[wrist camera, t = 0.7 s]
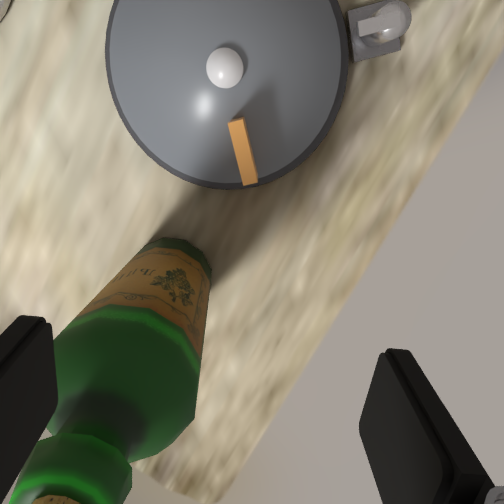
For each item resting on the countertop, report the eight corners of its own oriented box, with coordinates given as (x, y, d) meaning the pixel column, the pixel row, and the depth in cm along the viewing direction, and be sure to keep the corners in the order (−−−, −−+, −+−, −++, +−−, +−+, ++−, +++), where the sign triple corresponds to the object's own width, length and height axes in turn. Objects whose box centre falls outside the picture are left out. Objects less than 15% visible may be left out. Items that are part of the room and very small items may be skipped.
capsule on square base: (392, -1, 33) (422, -21, 27) (397, 50, 35) (426, 41, 29) (337, 15, 34) (354, -3, 28) (344, 64, 35) (362, 58, 29)
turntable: (80, -27, 31) (46, -51, 26) (315, -99, 29) (328, -140, 24) (157, 200, 38) (142, 216, 33) (352, 153, 36) (368, 162, 31)
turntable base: (73, -31, 33) (65, -37, 31) (323, -108, 31) (326, -118, 29) (155, 207, 40) (151, 211, 39) (359, 158, 38) (363, 160, 37)
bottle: (212, 220, 41) (134, 442, 15) (229, 309, 44) (191, 610, 18) (113, 233, 41) (-132, 469, 15) (138, 320, 45) (-22, 625, 19)
